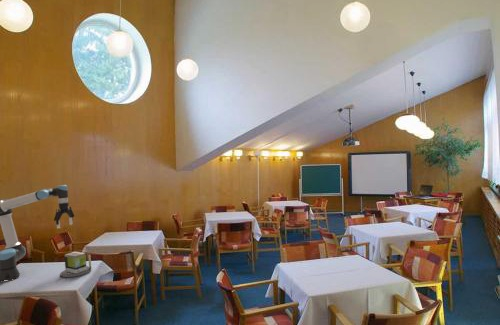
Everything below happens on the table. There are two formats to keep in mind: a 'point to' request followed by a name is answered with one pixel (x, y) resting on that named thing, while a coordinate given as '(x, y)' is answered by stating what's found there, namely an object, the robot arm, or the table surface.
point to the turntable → (71, 275)
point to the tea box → (75, 262)
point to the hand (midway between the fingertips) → (64, 226)
